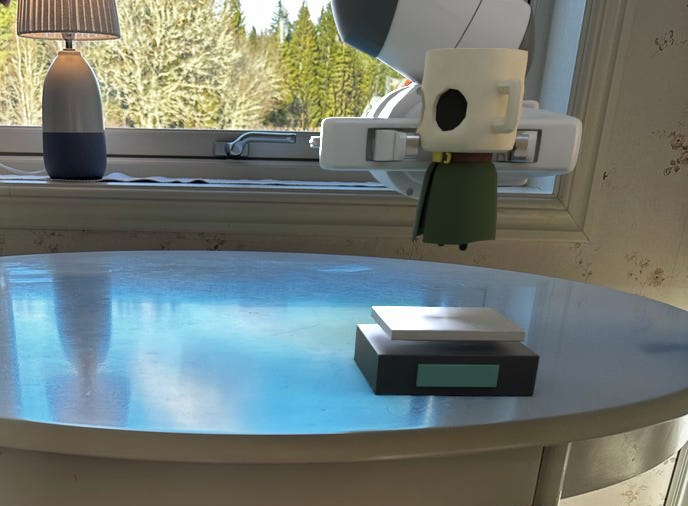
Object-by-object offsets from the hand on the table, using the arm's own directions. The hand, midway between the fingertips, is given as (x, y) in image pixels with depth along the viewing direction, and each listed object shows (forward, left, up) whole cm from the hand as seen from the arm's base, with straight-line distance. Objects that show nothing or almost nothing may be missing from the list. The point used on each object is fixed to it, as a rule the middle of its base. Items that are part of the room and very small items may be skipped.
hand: (467, 147), depth 69 cm
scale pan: (0, 0, -13) cm, 13 cm away
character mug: (0, -1, -7) cm, 7 cm away
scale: (0, 0, -17) cm, 17 cm away
